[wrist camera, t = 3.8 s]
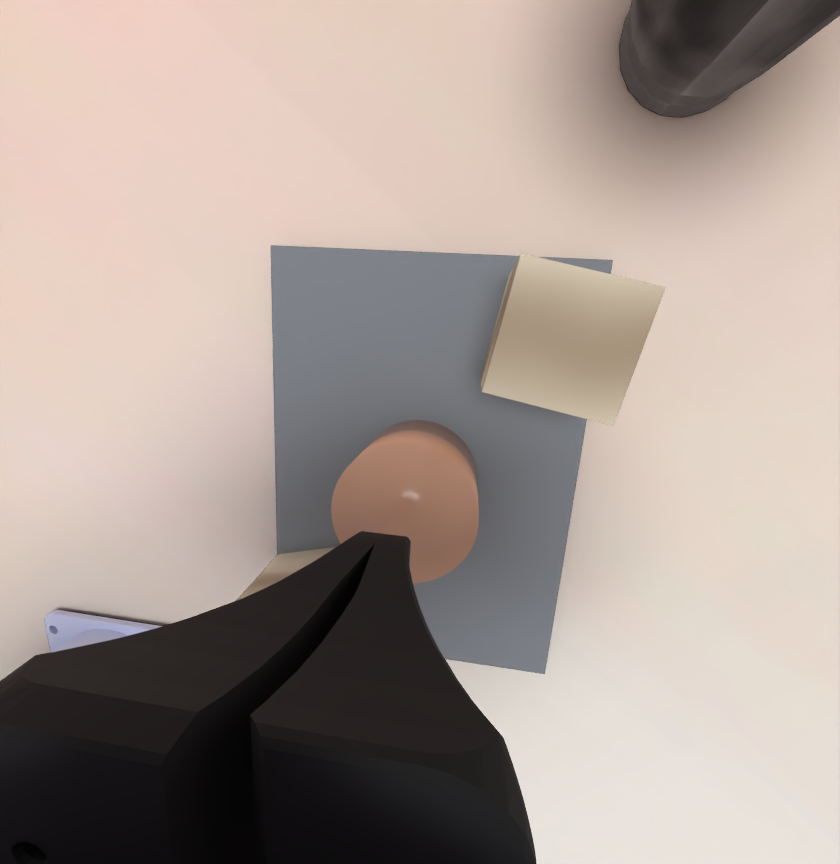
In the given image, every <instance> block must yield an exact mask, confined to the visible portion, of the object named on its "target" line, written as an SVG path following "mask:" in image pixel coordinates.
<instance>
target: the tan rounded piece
mask: <svg viewBox="0 0 840 864" xmlns="http://www.w3.org/2000/svg"><path fill="white" fill-rule="evenodd" d="M331 515H332V522H333V527H334V530H335V533H336V536H337V538H338V540H339V542H340V544H342V543H343V542H345V541H346V540H348V539H349V538H351V537H352V536H354V535H355V534H357V533H359V532H361V531H365V532H373V533H382V534H390V535H398V536H406V537H408V538H409V540H410V541H411V547H410V563H409V567H410V572H411V577H412V582H413V583H422V582H427V581H431V580H434V579H437V578H439V577H441V576H444V575H445V574H447V573H449V572H450V571H452V570H453V569H454V568H456V567H457V566H458V565H459V564H460V563H461V562H462V561H463V560H464V559H465V558H466V556H467V555H468V553H469V552H470V550H471V548H472V546H473V544H474V542H475V539H476V536H477V531H478V525H479V507H478V480H477V468H476V464H475V460H474V458H473V455H472V453H471V452H470V450H469V448H468V447H467V445H466V444H465V443H464V441H463V440H462V439H461V438H460V437H459V436H458V435H457V434H455V433H454V432H453V431H451V430H450V429H448V428H446V427H444V426H442V425H440V424H437V423H434V422H430V421H424V420H411V421H405V422H401V423H398V424H395V425H393V426H391V427H389V428H387V429H386V430H384V431H383V432H382V433H380V434H379V435H378V436H377V437H376V438H375V439H374V440H373V441H372V442H371V443H370V444H369V445H368V446H367V447H366V448H365V449H364V450H363V452H362V453H361V454H360V455H359V456H358V457H357V458H356V459H355V460H354V461H353V462H352V463H351V464H350V465H349V466H348V467H347V468H346V469H345V471H344V472H343V473H342V475H341V476H340V478H339V480H338V482H337V484H336V487H335V489H334V492H333V497H332V504H331Z"/></svg>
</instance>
